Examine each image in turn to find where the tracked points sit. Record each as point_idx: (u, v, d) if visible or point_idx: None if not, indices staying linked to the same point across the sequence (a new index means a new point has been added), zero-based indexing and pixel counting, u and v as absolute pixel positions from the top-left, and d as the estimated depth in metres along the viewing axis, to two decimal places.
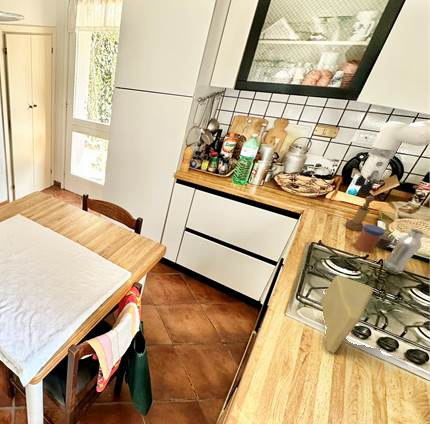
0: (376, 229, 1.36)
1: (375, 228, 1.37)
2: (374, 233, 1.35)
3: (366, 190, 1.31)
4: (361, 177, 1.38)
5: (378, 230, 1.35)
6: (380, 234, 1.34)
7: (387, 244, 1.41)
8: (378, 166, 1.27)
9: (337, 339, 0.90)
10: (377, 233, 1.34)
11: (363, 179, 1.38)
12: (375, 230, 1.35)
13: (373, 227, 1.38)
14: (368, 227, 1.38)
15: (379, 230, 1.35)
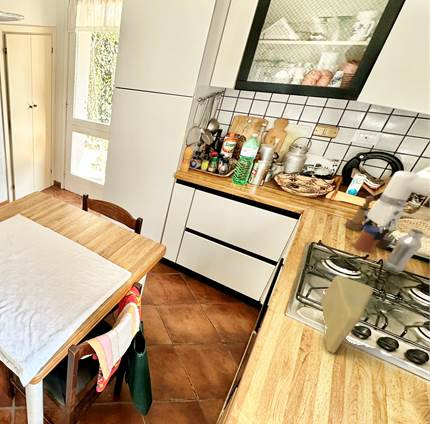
0: (376, 229, 1.36)
1: (375, 228, 1.37)
2: (374, 233, 1.35)
3: (381, 237, 1.33)
4: (367, 223, 1.40)
5: (378, 230, 1.35)
6: None
7: (387, 244, 1.41)
8: (394, 215, 1.28)
9: (337, 339, 0.90)
10: None
11: None
12: (375, 230, 1.35)
13: (373, 227, 1.38)
14: (368, 227, 1.38)
15: (379, 230, 1.35)
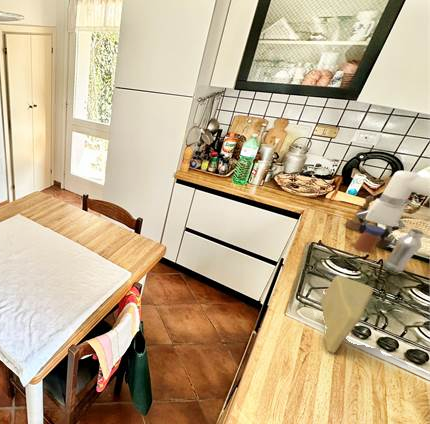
0: (376, 228, 1.36)
1: (374, 227, 1.37)
2: (383, 233, 1.34)
3: None
4: (365, 225, 1.38)
5: (379, 229, 1.36)
6: None
7: (387, 244, 1.41)
8: None
9: (337, 339, 0.90)
10: (384, 232, 1.35)
11: None
12: (380, 230, 1.35)
13: (371, 227, 1.38)
14: (373, 229, 1.36)
15: (379, 228, 1.37)
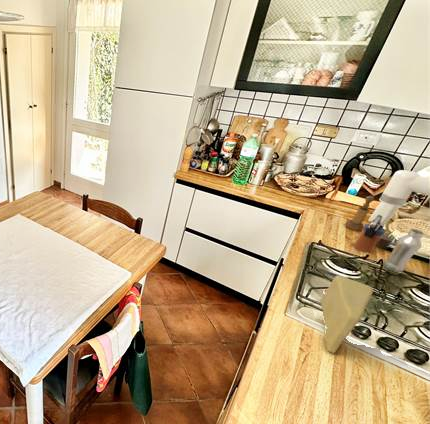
0: None
1: None
2: None
3: None
4: None
5: None
6: None
7: (387, 244, 1.41)
8: None
9: (337, 339, 0.90)
10: None
11: None
12: (379, 228, 1.37)
13: None
14: (380, 230, 1.35)
15: None
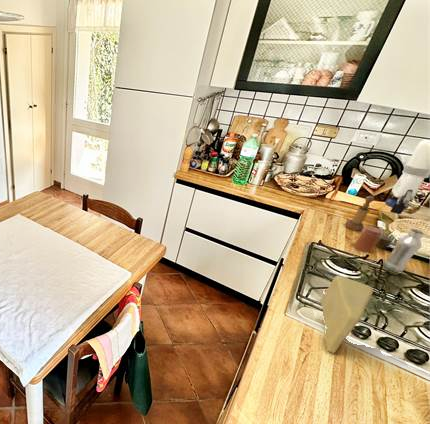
0: (396, 201, 1.32)
1: (396, 202, 1.31)
2: None
3: None
4: None
5: (395, 201, 1.32)
6: None
7: (387, 244, 1.41)
8: None
9: (337, 339, 0.90)
10: None
11: None
12: None
13: None
14: None
15: (394, 200, 1.33)
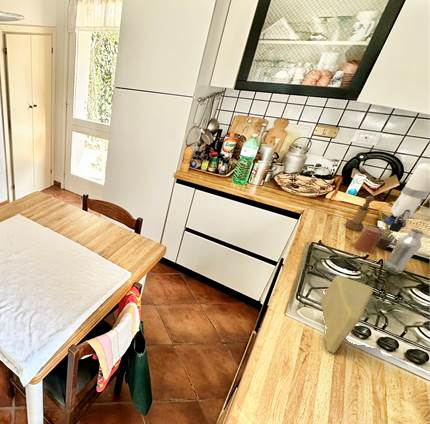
0: None
1: (394, 220, 1.38)
2: None
3: None
4: None
5: (394, 219, 1.39)
6: None
7: (387, 244, 1.41)
8: None
9: (337, 339, 0.90)
10: None
11: None
12: None
13: None
14: None
15: (392, 219, 1.39)
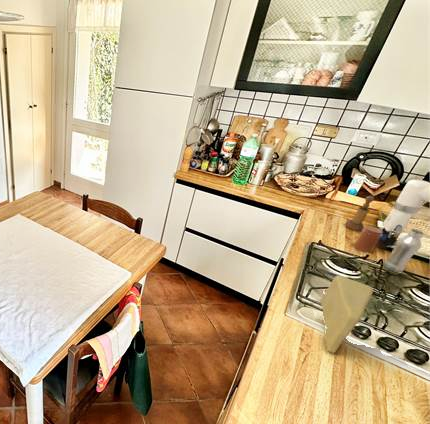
0: (384, 236, 1.42)
1: (384, 237, 1.42)
2: None
3: None
4: None
5: (383, 235, 1.43)
6: None
7: None
8: None
9: (337, 339, 0.90)
10: None
11: None
12: None
13: (385, 238, 1.41)
14: None
15: None
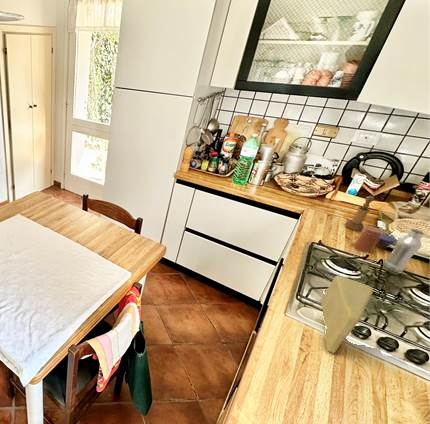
0: (384, 236, 1.42)
1: (384, 237, 1.42)
2: None
3: None
4: None
5: (383, 235, 1.43)
6: None
7: (387, 244, 1.41)
8: None
9: (337, 339, 0.90)
10: None
11: None
12: (387, 236, 1.42)
13: (385, 238, 1.41)
14: (391, 239, 1.40)
15: None
